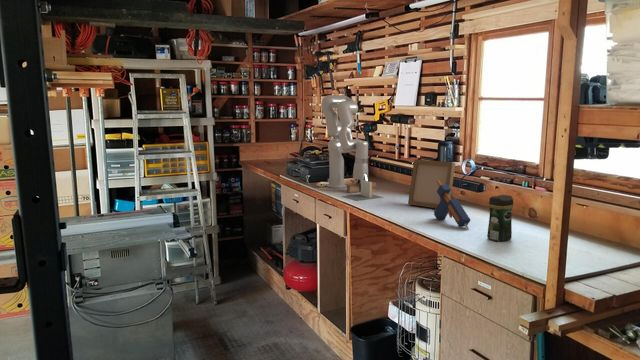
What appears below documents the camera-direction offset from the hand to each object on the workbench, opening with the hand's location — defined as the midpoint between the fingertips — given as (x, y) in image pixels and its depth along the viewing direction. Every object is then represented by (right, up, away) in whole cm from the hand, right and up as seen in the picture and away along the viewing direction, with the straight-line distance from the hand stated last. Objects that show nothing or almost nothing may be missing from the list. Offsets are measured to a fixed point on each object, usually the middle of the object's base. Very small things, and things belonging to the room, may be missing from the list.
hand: (360, 190), depth 306 cm
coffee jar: (+49, -19, -101) cm, 114 cm away
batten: (+1, -1, +1) cm, 1 cm away
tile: (+2, -3, -15) cm, 15 cm away
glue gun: (+37, -14, -75) cm, 85 cm away
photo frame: (+36, -8, -38) cm, 53 cm away
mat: (0, -4, -16) cm, 17 cm away
